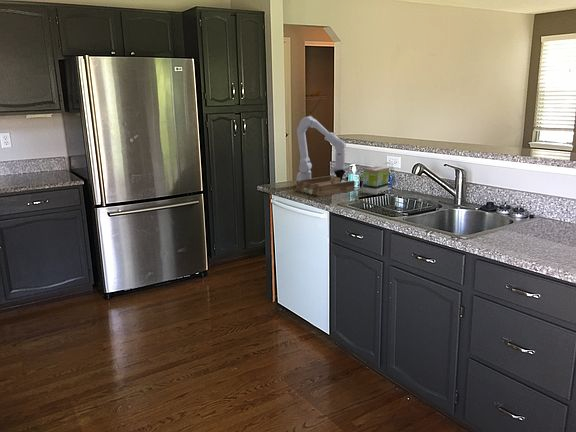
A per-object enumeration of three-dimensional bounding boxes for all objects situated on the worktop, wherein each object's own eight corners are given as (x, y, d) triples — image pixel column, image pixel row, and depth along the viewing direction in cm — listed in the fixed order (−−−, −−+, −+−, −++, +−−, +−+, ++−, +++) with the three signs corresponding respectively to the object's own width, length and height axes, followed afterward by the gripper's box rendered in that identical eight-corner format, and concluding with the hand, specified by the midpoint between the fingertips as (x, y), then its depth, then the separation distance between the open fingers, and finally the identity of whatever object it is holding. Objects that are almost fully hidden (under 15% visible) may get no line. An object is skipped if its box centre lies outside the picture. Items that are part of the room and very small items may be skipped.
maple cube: (331, 184, 320) (331, 177, 319) (335, 183, 322) (335, 176, 321) (335, 184, 317) (335, 178, 316) (340, 184, 319) (340, 177, 318)
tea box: (377, 195, 302) (378, 170, 299) (362, 192, 308) (362, 168, 305) (388, 190, 314) (389, 166, 310) (374, 188, 320) (374, 165, 316)
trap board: (296, 190, 315) (296, 181, 314) (330, 185, 332) (330, 175, 331) (320, 196, 299) (320, 186, 297) (354, 190, 315) (354, 180, 314)
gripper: (335, 162, 311) (335, 184, 314) (352, 160, 319) (352, 181, 323) (328, 161, 316) (327, 182, 319) (344, 158, 325) (344, 179, 328)
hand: (339, 182), depth 321 cm, fingers closed
